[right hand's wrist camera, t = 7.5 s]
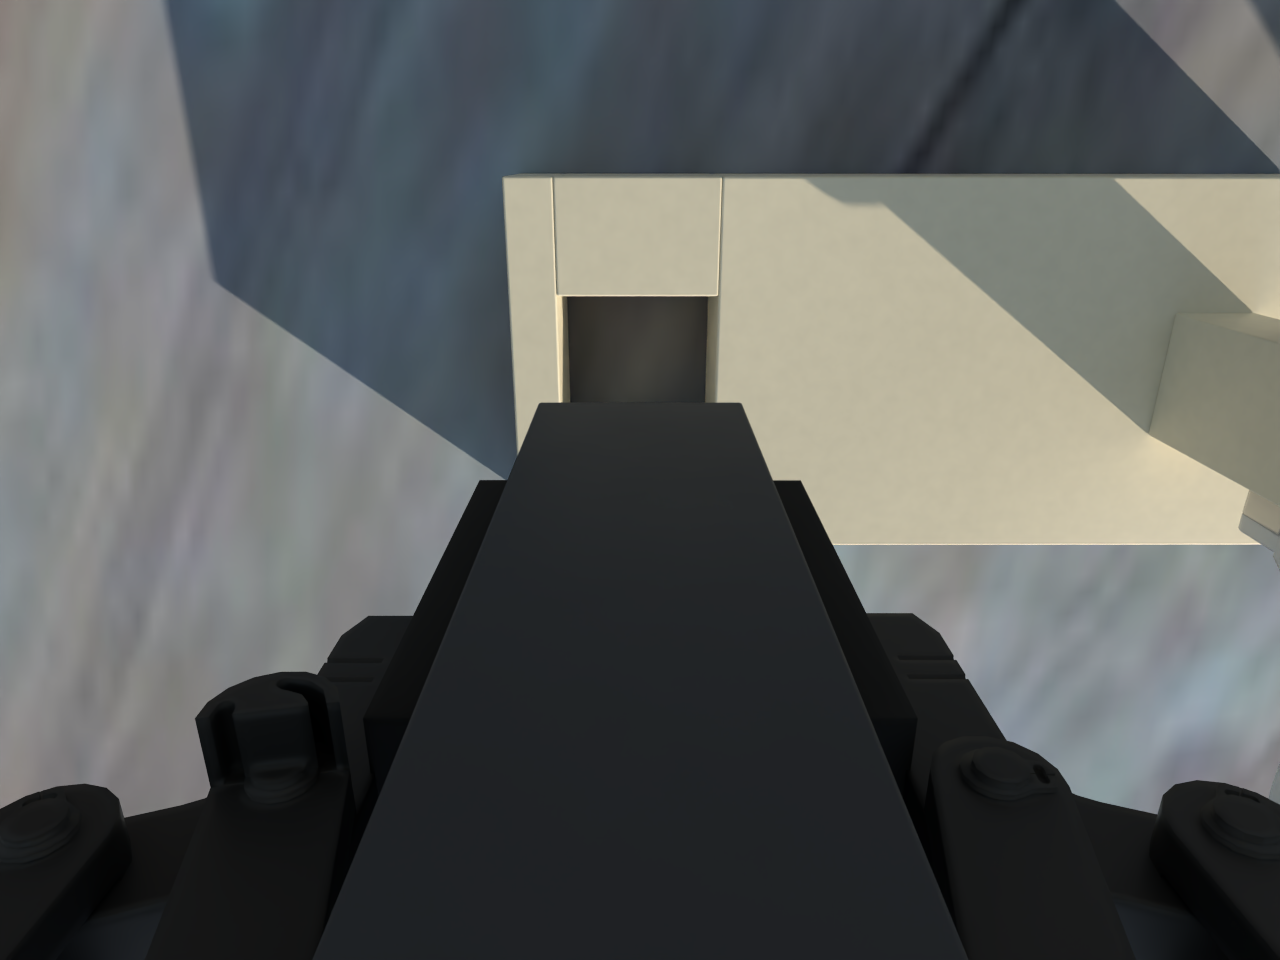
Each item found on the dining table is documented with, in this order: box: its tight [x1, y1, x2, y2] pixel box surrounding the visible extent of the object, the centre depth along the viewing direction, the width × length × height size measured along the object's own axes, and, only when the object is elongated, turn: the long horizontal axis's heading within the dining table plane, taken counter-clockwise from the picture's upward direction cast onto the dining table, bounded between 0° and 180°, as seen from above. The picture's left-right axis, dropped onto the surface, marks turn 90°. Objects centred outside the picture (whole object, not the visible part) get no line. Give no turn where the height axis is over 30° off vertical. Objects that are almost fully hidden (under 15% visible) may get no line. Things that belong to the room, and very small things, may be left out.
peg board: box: [502, 174, 1280, 545], centre depth 25 cm, size 26×12×12 cm, turn 90°
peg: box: [312, 403, 968, 960], centre depth 11 cm, size 4×4×14 cm
